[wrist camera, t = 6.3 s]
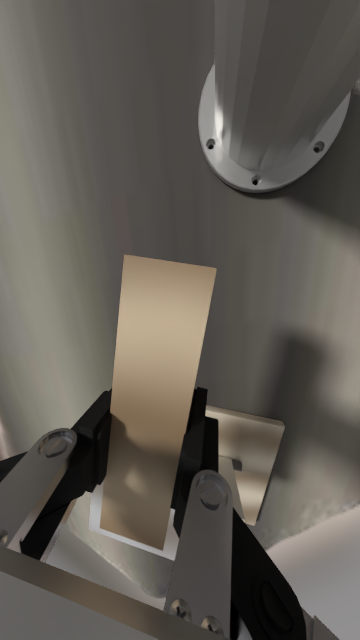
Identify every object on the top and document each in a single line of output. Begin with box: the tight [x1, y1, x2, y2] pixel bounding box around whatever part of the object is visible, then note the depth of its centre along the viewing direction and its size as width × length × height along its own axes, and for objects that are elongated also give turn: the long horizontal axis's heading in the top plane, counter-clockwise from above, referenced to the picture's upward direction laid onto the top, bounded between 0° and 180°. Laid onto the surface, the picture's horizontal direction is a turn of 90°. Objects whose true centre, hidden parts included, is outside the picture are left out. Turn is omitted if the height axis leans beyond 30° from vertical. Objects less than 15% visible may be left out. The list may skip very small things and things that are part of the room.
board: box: [205, 405, 285, 526], centre depth 28 cm, size 18×20×2 cm
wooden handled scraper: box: [89, 255, 217, 560], centre depth 10 cm, size 19×8×4 cm, turn 172°
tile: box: [219, 456, 245, 523], centre depth 23 cm, size 9×9×1 cm
